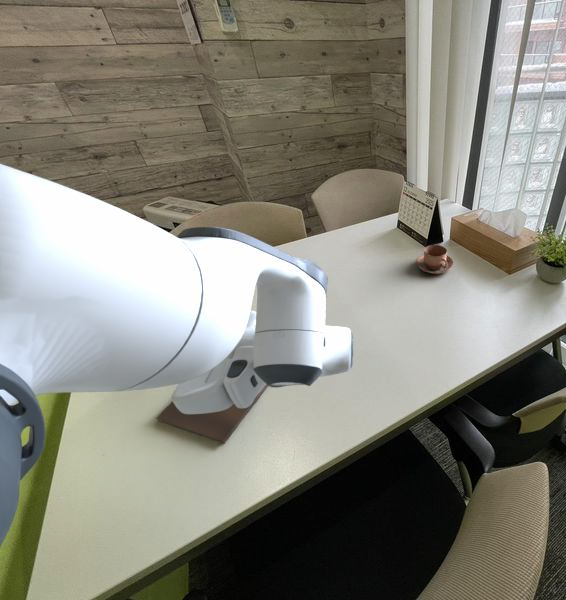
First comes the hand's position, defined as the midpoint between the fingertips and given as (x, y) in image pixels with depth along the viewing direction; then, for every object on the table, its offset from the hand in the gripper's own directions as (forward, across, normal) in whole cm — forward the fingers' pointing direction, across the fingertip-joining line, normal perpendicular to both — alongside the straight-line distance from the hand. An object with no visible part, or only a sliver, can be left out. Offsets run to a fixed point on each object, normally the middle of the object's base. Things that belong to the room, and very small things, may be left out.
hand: (174, 356), depth 54 cm
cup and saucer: (-52, -52, +18) cm, 76 cm away
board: (-1, -6, +17) cm, 18 cm away
